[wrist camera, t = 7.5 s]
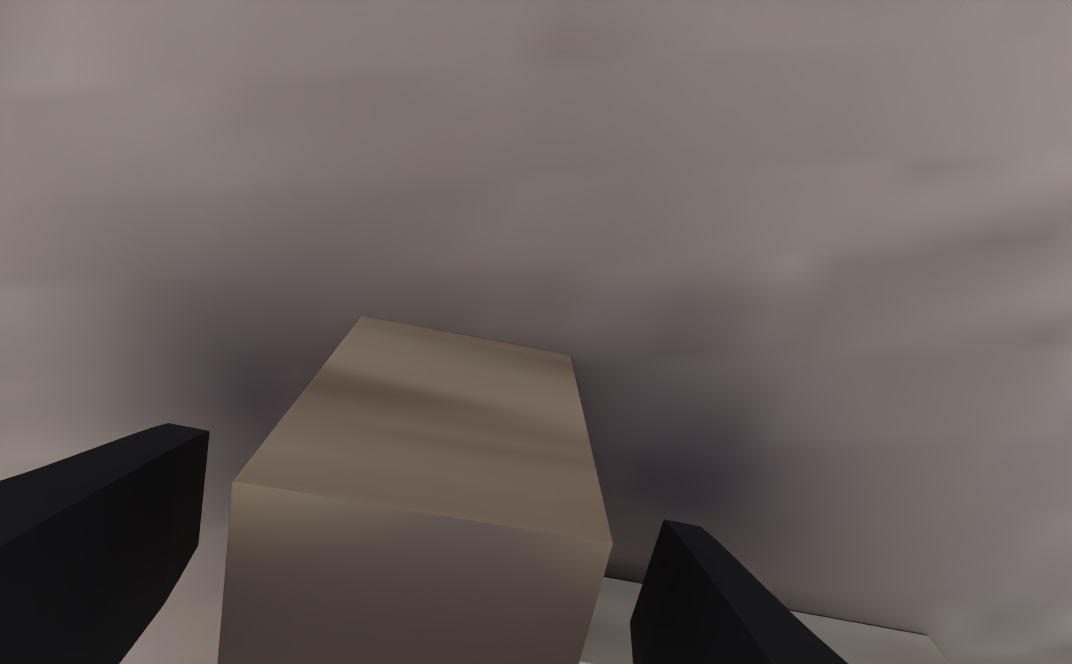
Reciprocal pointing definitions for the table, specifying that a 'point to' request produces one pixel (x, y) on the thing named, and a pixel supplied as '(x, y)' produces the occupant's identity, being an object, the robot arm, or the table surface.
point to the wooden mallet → (419, 511)
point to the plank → (871, 652)
